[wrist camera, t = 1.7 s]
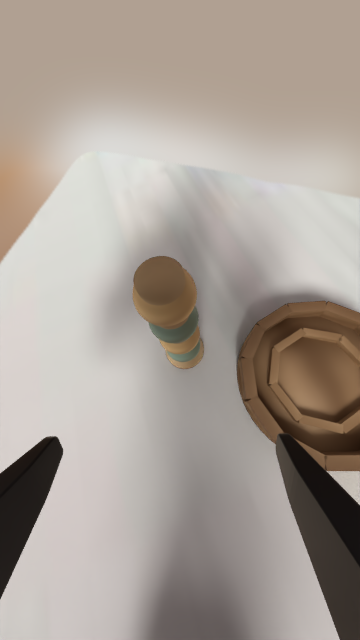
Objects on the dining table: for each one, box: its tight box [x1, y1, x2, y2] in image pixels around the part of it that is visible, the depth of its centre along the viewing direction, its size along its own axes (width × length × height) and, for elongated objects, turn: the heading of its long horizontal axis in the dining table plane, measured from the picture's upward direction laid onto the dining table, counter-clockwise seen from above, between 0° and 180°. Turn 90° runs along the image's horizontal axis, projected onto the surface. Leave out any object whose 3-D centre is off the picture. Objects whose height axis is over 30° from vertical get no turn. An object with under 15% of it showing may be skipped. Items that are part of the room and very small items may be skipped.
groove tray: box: [237, 301, 360, 471], centre depth 20 cm, size 14×14×2 cm
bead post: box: [133, 256, 204, 369], centre depth 17 cm, size 4×4×14 cm
